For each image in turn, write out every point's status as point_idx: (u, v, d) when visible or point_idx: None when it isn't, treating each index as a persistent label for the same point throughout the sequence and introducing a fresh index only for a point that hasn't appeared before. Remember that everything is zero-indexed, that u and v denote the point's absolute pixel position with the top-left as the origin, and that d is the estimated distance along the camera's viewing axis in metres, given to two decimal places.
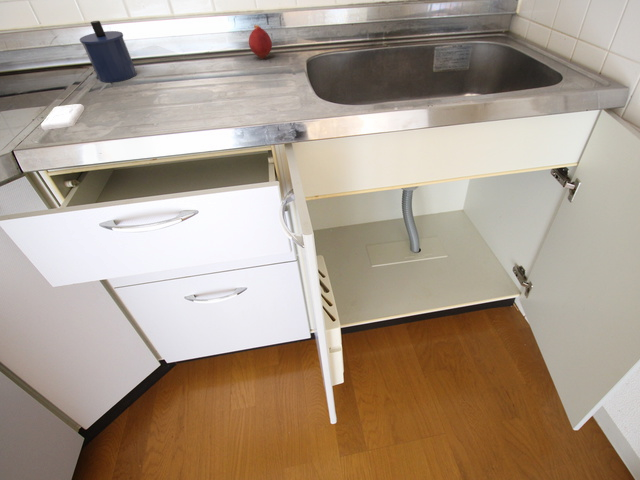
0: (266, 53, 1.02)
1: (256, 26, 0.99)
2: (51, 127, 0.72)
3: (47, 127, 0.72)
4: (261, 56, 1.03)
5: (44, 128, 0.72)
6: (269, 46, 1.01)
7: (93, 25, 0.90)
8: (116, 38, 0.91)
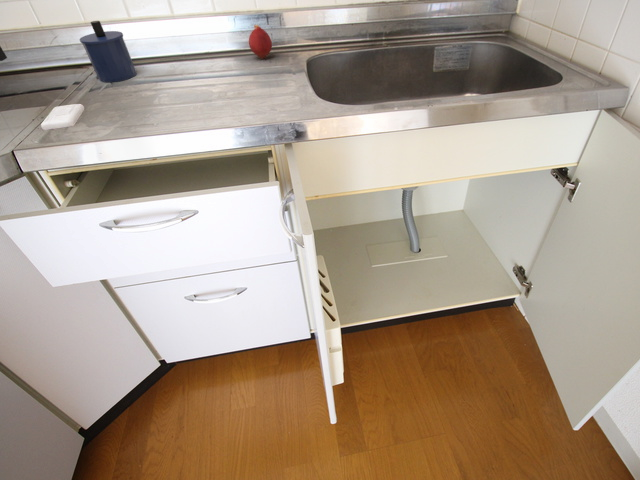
0: (266, 53, 1.02)
1: (256, 26, 0.99)
2: (51, 127, 0.72)
3: (47, 127, 0.72)
4: (261, 56, 1.03)
5: (44, 128, 0.72)
6: (269, 46, 1.01)
7: (93, 25, 0.90)
8: (116, 38, 0.91)
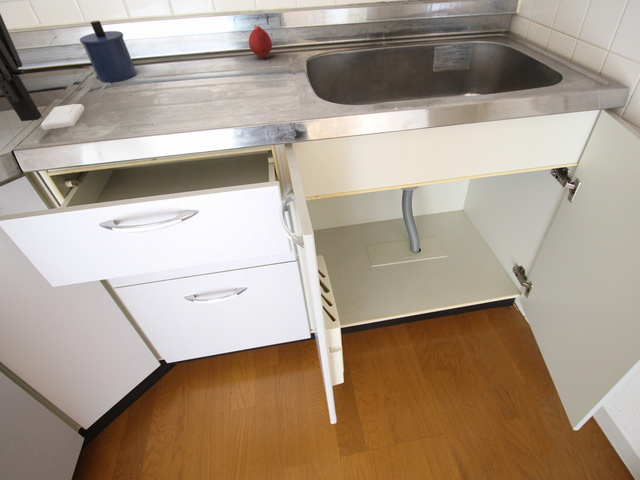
0: (266, 53, 1.02)
1: (256, 26, 0.99)
2: (51, 127, 0.72)
3: (47, 127, 0.72)
4: (261, 56, 1.03)
5: (44, 128, 0.72)
6: (269, 46, 1.01)
7: (93, 25, 0.90)
8: (116, 38, 0.91)
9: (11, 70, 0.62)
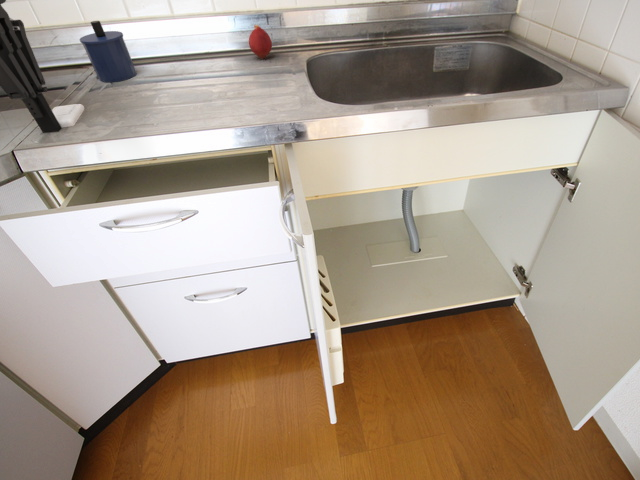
0: (266, 53, 1.02)
1: (256, 26, 0.99)
2: None
3: None
4: (261, 56, 1.03)
5: None
6: (269, 46, 1.01)
7: (93, 25, 0.90)
8: (116, 38, 0.91)
9: (35, 88, 0.67)
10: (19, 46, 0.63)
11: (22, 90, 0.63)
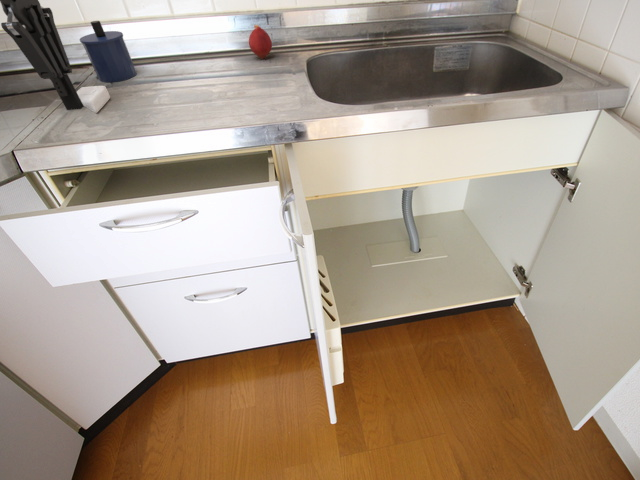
0: (266, 53, 1.02)
1: (256, 26, 0.99)
2: None
3: None
4: (261, 56, 1.03)
5: None
6: (269, 46, 1.01)
7: (93, 25, 0.90)
8: (116, 38, 0.91)
9: (62, 69, 0.75)
10: (49, 30, 0.71)
11: (51, 70, 0.71)
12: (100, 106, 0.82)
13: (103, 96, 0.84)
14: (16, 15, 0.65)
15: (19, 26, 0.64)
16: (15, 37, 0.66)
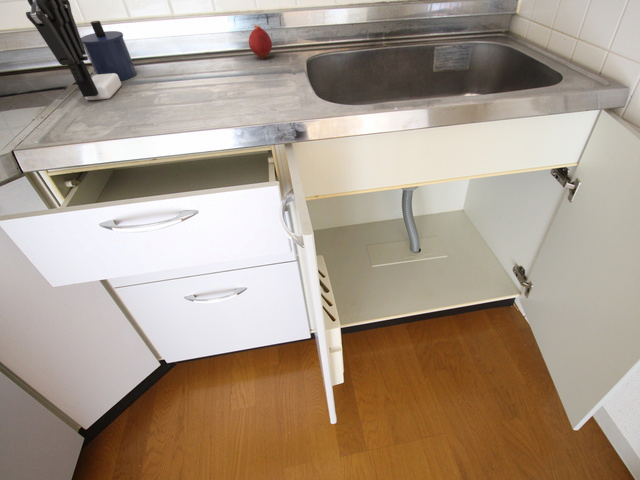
0: (266, 53, 1.02)
1: (256, 26, 0.99)
2: None
3: None
4: (261, 56, 1.03)
5: None
6: (269, 46, 1.01)
7: (93, 25, 0.90)
8: (116, 38, 0.91)
9: (78, 57, 0.81)
10: (67, 20, 0.77)
11: (69, 56, 0.77)
12: (113, 92, 0.88)
13: (115, 83, 0.90)
14: (39, 5, 0.71)
15: (42, 15, 0.70)
16: (38, 25, 0.71)
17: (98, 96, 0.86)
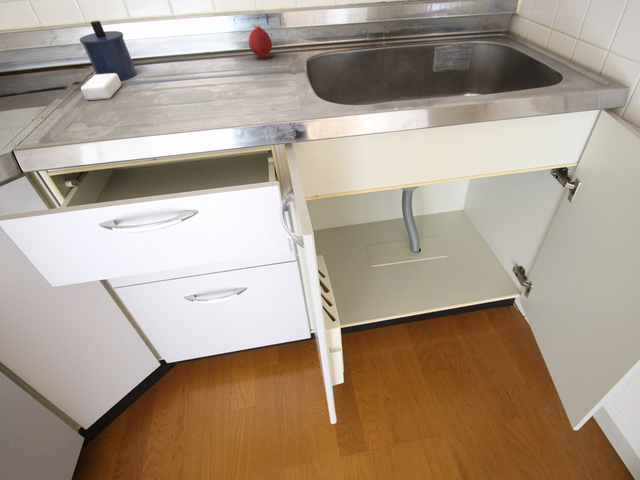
0: (266, 53, 1.02)
1: (256, 26, 0.99)
2: (89, 90, 0.85)
3: (85, 90, 0.85)
4: (261, 56, 1.03)
5: (83, 91, 0.85)
6: (269, 46, 1.01)
7: (93, 25, 0.90)
8: (116, 38, 0.91)
9: None
10: None
11: None
12: (113, 92, 0.88)
13: (116, 83, 0.90)
14: None
15: None
16: None
17: (98, 96, 0.86)
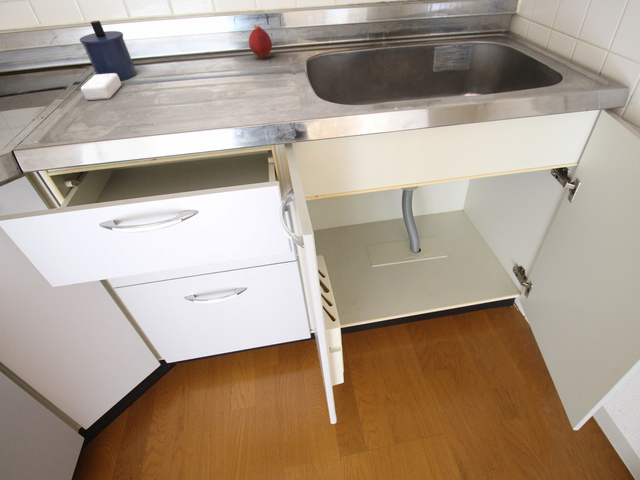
0: (266, 53, 1.02)
1: (256, 26, 0.99)
2: (89, 90, 0.85)
3: (85, 90, 0.85)
4: (261, 56, 1.03)
5: (83, 91, 0.85)
6: (269, 46, 1.01)
7: (93, 25, 0.90)
8: (116, 38, 0.91)
9: None
10: None
11: None
12: (113, 92, 0.88)
13: (116, 83, 0.90)
14: None
15: None
16: None
17: (98, 96, 0.86)
